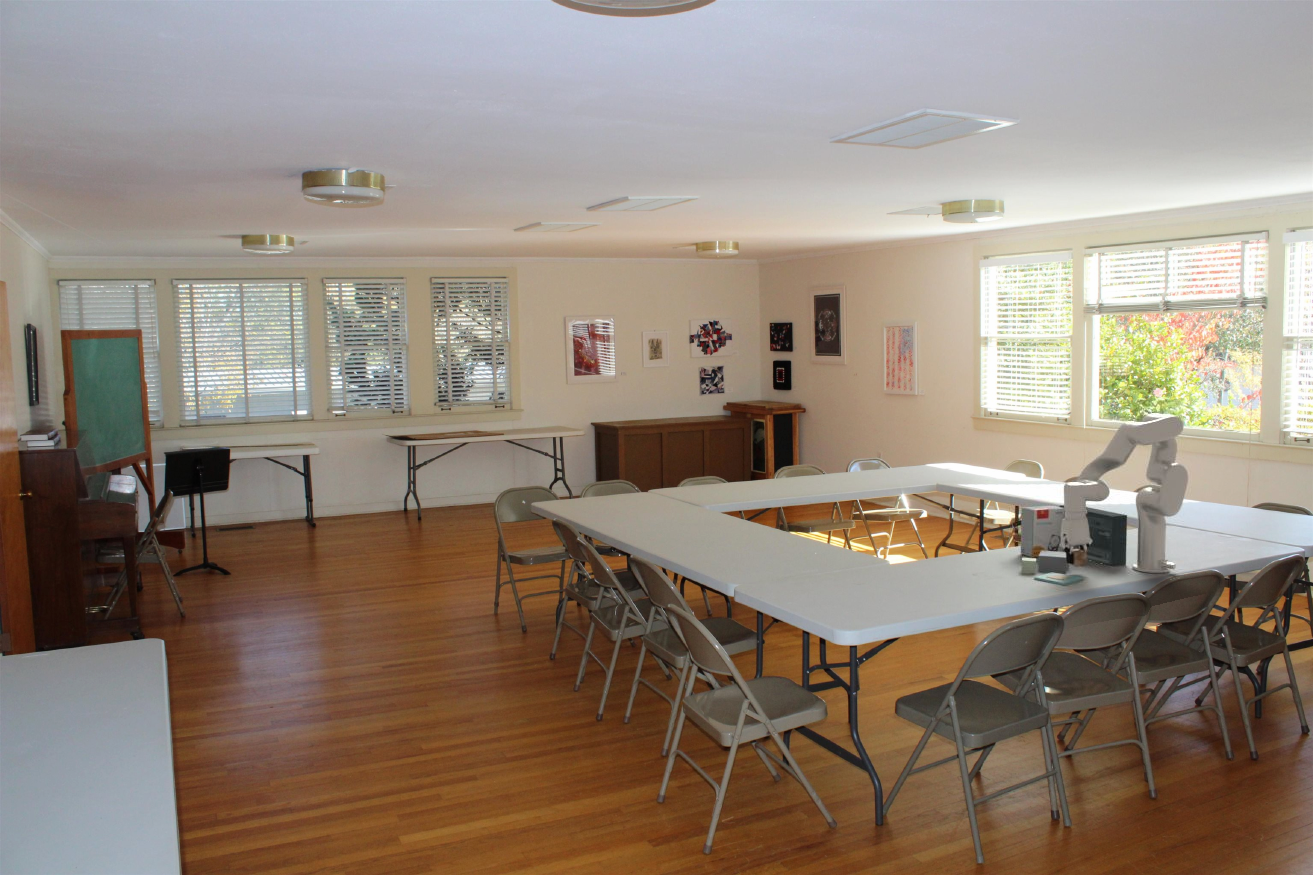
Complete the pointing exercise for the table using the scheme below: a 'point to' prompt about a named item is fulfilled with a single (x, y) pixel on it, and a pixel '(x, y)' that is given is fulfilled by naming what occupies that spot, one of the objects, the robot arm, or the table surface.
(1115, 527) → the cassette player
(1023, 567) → the sage cube
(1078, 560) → the walnut cube
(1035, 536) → the hard drive box
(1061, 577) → the board
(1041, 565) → the plinth
